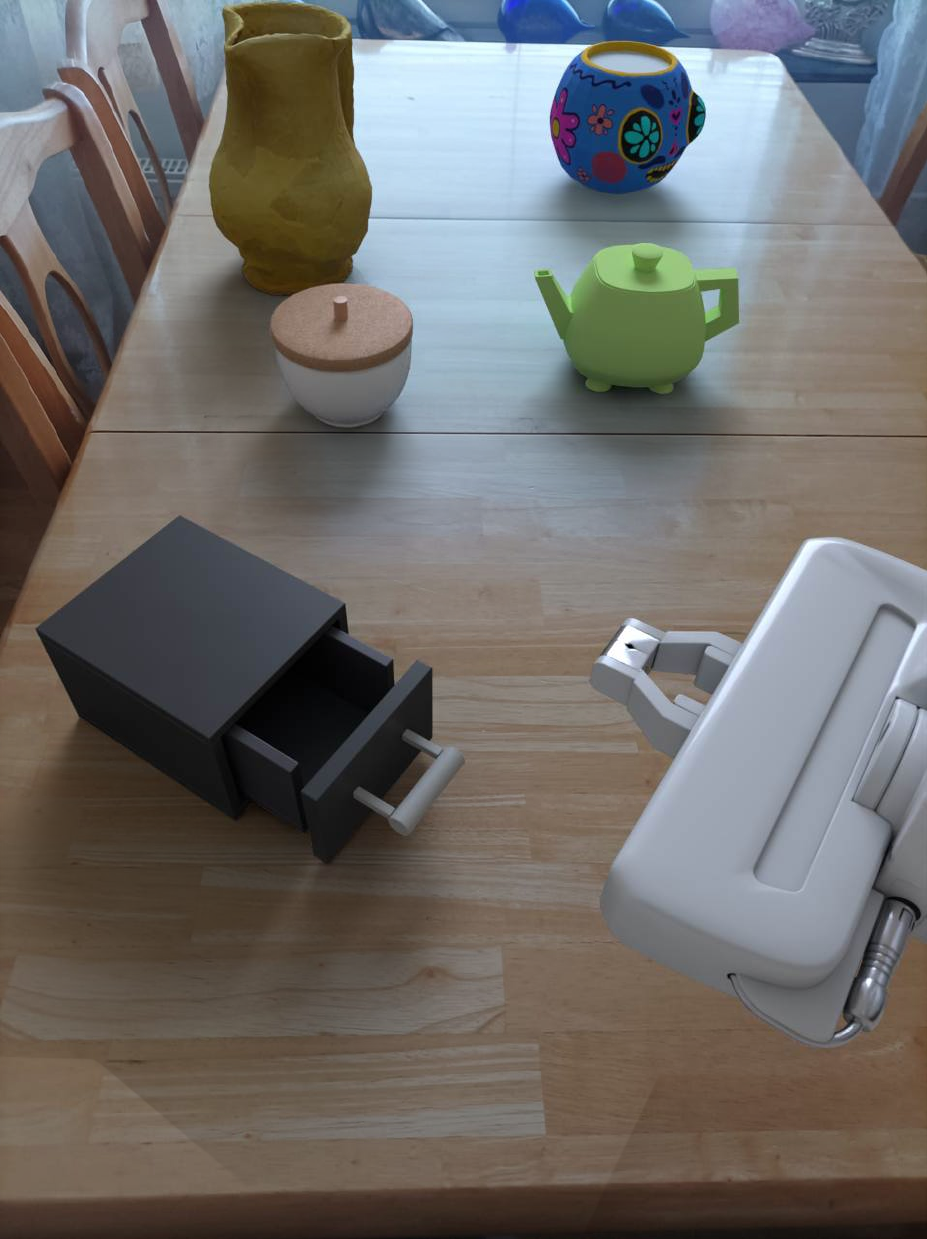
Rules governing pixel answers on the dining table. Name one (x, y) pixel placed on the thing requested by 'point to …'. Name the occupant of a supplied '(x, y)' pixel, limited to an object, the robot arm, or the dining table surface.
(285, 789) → the drawer
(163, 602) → the cabinet
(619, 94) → the ceramic pot
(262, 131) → the pitcher
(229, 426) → the dining table surface
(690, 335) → the teapot
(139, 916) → the dining table surface
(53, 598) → the dining table surface
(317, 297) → the lidded bowl
